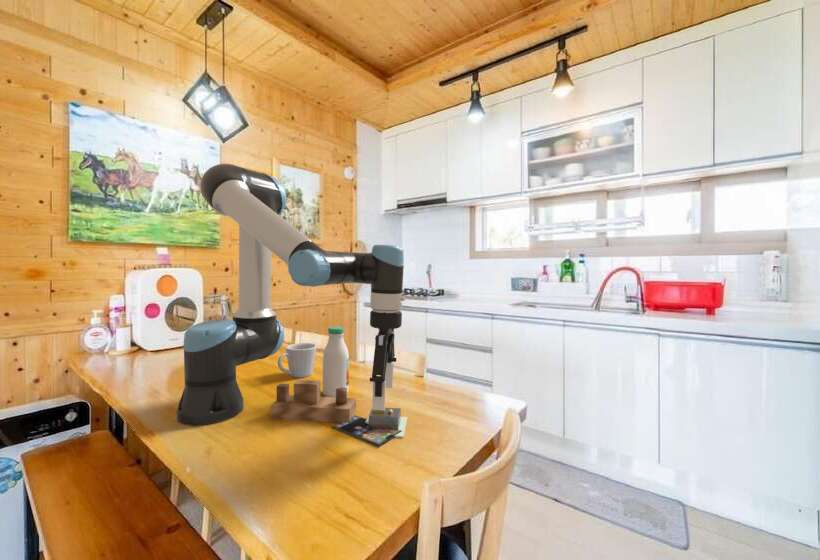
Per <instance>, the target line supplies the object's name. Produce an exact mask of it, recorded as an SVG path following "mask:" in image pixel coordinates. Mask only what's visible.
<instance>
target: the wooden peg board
mask: <svg viewBox="0 0 820 560" xmlns="http://www.w3.org/2000/svg"><path fill="white" fill-rule="evenodd" d="M356 412H357V398H356V397H348V393H347V388H337V389H336V397H327V396H321V380H308V379H297V380H296V381H295V382H293V395H292V394H291V395H290V384H289V383H279V384H278V385H276V400H275V401H274V402H273V403H272V404H271V405H270V419H271V420H281V421H282V420H284V421H285V420H286V421H302V422H303V421H304V422H306V421H307V422H320V423H321V422H324V423H326V422H327V423H340V422H343V421H344V422H350V420H351V418H352V417H353V416H355V413H356Z"/></svg>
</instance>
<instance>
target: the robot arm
mask: <svg viewBox="0 0 820 560" xmlns="http://www.w3.org/2000/svg"><path fill="white" fill-rule="evenodd" d="M199 187H200V192H201V194H202V197H203V199H204V200H205V202H206V203H207V205H208V206H209V207H211V208H212V209H213V210H215V211H216V212H217V214H220V215H221V216H226V217H229V218H231V219H232V220H233V221H235V222H236V223H237V225H239V226H238V309H237V310H236V311H235V312H234V313H233V314H232V319H227V318H223V319H222V318H221V319H215V320H207V321H202V322H200V323H196V324H194V325H193V324H192V326H190V327H188V328H187V329H186V331H185V332H184V335H183V337H184V338H183V343H182V345H183V346H182V349H183V367H184V368H183V370H184V372H183V373H184V388H183V391H182V394H181V397H180V399H179V403H178V405H177V407H176V420H177V422H179V423H180V424H184V425H189V426H190V425H191V426H200V425H203V426H204V425H208V424H215V423H219V422H223V421H225V420H229V419H231V418H233V417H236V416H237V415H239V414H241V412H242V411H243V410H244V405H245V403H244V402H245V401H244V397H243V395H242V392H241V389H240V387H239V384H238V381H237V366H241V365H244V364H247V363H251V362H254V361H258V360H263V359H266V358H268V357H270V356H272V355H275V354H276V353H277V352H278V351H279V350H280V349H281V347H282V346H283V343H284V340H285V329H284V326H283V325H282V322H281V321H280V320H279V319H278V318H277V312H275V311H274V310H273V309H272V308H271V306H272V305H271V304H272V303H271V299H272V298H271V297H272V293H271V292H272V253H273V254H274V255H275V256H277V258H279V259H280V260H281V261H282V262H283V263H285V264H286V265H287V269H288V270H287V271H288V274H289V275H290V278H291V280H292V281H293V282H294V283H295V284H297V285H299V286H302V287H312V288H313V287H321V286H329V285H341V284H364V285H365V284H366V285H370V298H369V299H370V304H369V305H370V307H369V308H370V309H371V311H369V325H370V327H371V328H374V329H378V333H377V334H376V335H375V338H374V339H375V340H374V351H373V353H374V355H373V361H372V362H373V363H372V365H373V366H372V371H371V372H372V373H371V377H369V382H372V407H371V410H385V408H386V389H393V385H394V363H396V362H397V357H395V354H396V353H395V329H400V328H401V327H402V322H403V321H402V320H403V319H402V318H403V313H402V311H400V310H402V308H403V302H405V301H406V298H405V297H404V296H403V292H404V291H403V288H404V287H403V282H404V269H405V268H404V267H405V261H404V260H405V259H404V257H405V255H404V249H403V247H402V246H400V245H395V244H394V245H391V244H374V245H372V248H371V252H367V253H366V252H353V251H352V252H350V251H349V252H348V251H334V250H333V251H330V250H325V249H323V248H322V247H320V245H317V243H315V242H314V241H313V240H311V239H310V238H309V237H308V236H306V235H305V234H304V233H303V232H301V230H298V229H297V228H296V227H295V226H294V225H292V224H291V222H290V223H289V222H288V221H287V220H286V219H285V218H283V217H282V216H281V215H282V213H283V212H284V210H285V208H286V205H287V193H286V190H285V188H284V185H283V184H282V183H281V181H279V180H278V178H276V177H274V176H272V175H268V174H266V173H264V172H260V171H256V170H252V169H248V168H244V167H242V166H238V165H235V164H231V163H219V164H215V165H213V166H211V167H209V168H208V169H207V170H206V171H205V172H204V173H203V175H202V176H201V180H200V186H199Z"/></svg>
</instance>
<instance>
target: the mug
mask: <svg viewBox="0 0 820 560" xmlns="http://www.w3.org/2000/svg"><path fill="white" fill-rule="evenodd" d="M317 347H318V346H317V345H316V344H314V343H311V342H297V343H291V344H289V345H287V346H286V347H285V353H283V354H280V356H278V359H277V366H278V368H279V370H280V371H281V372H283V373H285V374H289V375H290V377H292V378H299V379H300V378H307V377H310V376H312V375H313V374H314V366H315V360H316V353H317ZM285 357H286V358H287V365H288V369H286V368H284V366H283V365H282V361H283V359H284V358H285Z"/></svg>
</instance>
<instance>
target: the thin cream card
mask: <svg viewBox="0 0 820 560" xmlns="http://www.w3.org/2000/svg"><path fill="white" fill-rule="evenodd" d="M366 419H367V420H366V422H368V421H369V414H368V416H367V418H366ZM407 423H408V416H401V418H400V425H399V429H398V430H401V431H402V432H400V433H398V434H397V435H395V438H396V439H397V438H399V439H400V438H401V439H404V438H405V431H406V428H407ZM395 438H394V439H395Z"/></svg>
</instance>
